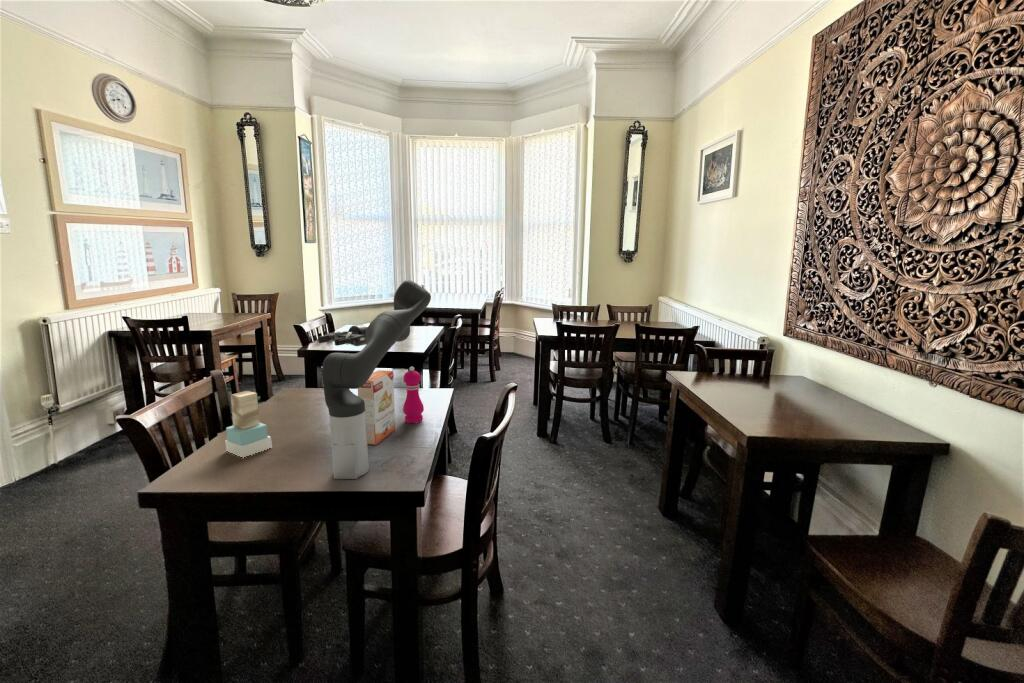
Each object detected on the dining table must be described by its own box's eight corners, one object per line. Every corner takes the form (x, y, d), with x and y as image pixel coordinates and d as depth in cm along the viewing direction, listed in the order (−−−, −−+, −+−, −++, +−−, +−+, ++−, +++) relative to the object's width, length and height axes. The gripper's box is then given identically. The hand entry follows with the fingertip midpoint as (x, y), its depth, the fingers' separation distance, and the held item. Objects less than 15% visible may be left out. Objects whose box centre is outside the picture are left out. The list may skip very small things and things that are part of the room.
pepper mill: (399, 420, 168) (397, 366, 164) (416, 415, 173) (414, 363, 169) (410, 425, 163) (408, 370, 159) (428, 420, 168) (426, 366, 164)
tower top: (267, 437, 144) (266, 424, 143) (241, 446, 137) (239, 433, 136) (254, 431, 148) (252, 419, 147) (227, 440, 141) (225, 427, 141)
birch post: (259, 424, 143) (256, 393, 141) (243, 429, 139) (240, 397, 137) (249, 422, 145) (246, 390, 144) (233, 426, 141) (230, 394, 139)
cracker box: (377, 446, 146) (373, 381, 142) (359, 444, 147) (355, 380, 143) (397, 429, 160) (394, 370, 156) (380, 428, 161) (377, 369, 157)
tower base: (272, 448, 145) (271, 436, 144) (242, 459, 137) (241, 446, 137) (255, 442, 150) (254, 431, 149) (226, 452, 142) (225, 440, 141)
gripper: (350, 322, 174) (312, 328, 161) (377, 325, 167) (340, 332, 153) (352, 342, 176) (314, 350, 162) (379, 346, 168) (341, 354, 155)
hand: (326, 341), depth 158 cm, fingers open, 8 cm apart
